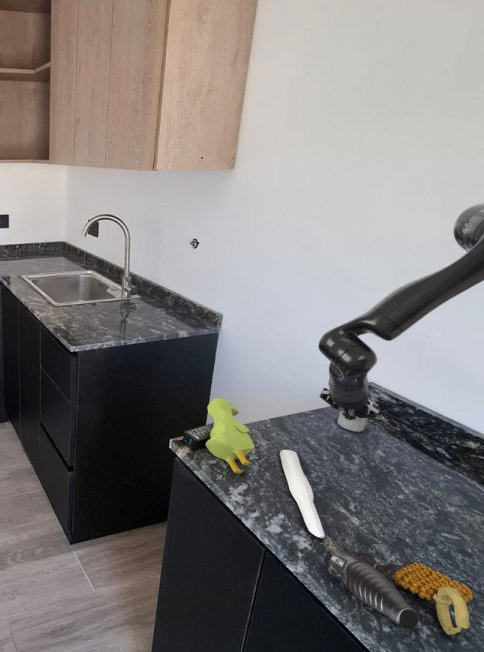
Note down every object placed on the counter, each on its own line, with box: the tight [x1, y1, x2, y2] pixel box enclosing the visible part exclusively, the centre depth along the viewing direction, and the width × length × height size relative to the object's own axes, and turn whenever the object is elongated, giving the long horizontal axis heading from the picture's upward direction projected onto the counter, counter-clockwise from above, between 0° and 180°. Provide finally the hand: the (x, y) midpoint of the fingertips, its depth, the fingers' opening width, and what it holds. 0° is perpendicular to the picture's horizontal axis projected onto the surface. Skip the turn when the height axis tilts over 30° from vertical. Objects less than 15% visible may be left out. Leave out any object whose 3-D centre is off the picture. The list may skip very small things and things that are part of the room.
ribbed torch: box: [327, 549, 419, 629], centre depth 75 cm, size 9×13×3 cm
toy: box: [205, 397, 255, 475], centre depth 110 cm, size 6×17×20 cm
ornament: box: [391, 562, 474, 635], centre depth 73 cm, size 7×10×15 cm
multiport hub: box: [182, 422, 214, 450], centre depth 115 cm, size 4×11×2 cm, turn 117°
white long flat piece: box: [279, 449, 326, 539], centre depth 99 cm, size 28×4×2 cm, turn 163°
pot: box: [337, 398, 374, 433], centre depth 123 cm, size 6×6×8 cm
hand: (349, 416), depth 120 cm, fingers closed
